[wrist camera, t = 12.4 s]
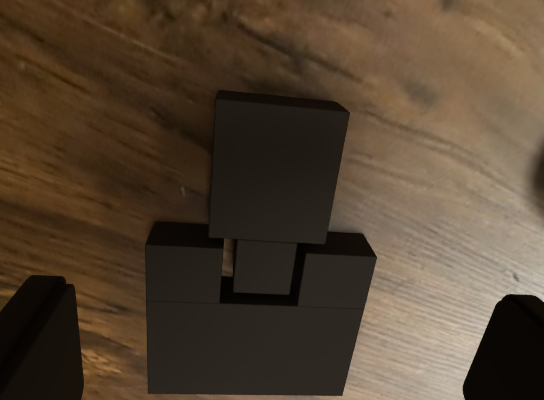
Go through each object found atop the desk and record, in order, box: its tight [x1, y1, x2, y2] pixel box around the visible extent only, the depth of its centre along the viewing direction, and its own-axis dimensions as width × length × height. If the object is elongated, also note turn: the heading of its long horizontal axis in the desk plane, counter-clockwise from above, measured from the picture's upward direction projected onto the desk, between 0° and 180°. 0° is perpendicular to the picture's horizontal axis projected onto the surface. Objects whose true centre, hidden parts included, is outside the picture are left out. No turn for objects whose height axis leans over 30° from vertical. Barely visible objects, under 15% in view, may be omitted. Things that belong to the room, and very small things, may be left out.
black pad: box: [208, 90, 350, 295], centre depth 24 cm, size 7×12×3 cm, turn 174°
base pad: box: [145, 222, 377, 396], centre depth 27 cm, size 14×12×3 cm
